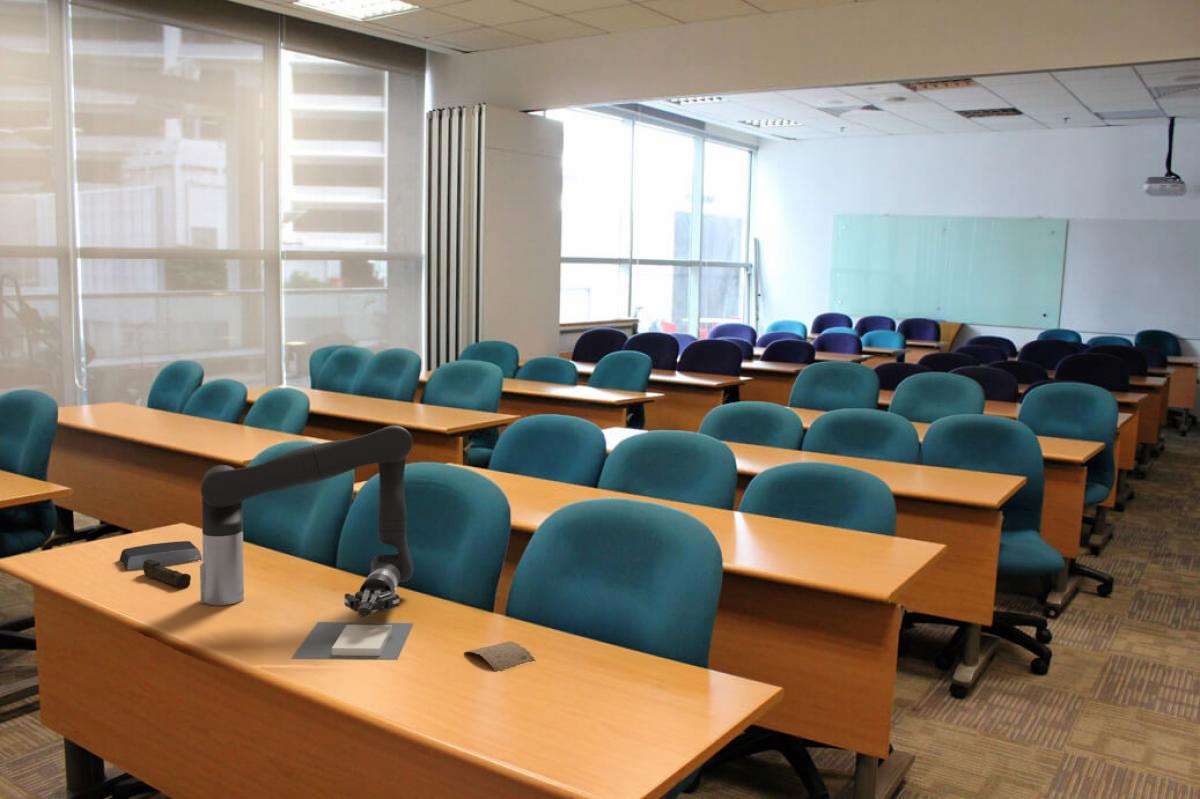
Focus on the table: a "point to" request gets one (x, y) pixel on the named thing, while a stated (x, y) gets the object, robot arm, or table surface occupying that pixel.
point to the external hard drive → (160, 554)
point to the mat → (329, 632)
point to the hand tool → (166, 574)
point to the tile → (362, 640)
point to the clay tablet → (504, 655)
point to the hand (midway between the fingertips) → (363, 612)
